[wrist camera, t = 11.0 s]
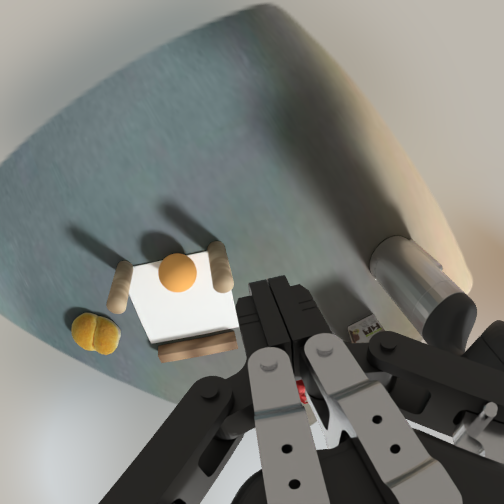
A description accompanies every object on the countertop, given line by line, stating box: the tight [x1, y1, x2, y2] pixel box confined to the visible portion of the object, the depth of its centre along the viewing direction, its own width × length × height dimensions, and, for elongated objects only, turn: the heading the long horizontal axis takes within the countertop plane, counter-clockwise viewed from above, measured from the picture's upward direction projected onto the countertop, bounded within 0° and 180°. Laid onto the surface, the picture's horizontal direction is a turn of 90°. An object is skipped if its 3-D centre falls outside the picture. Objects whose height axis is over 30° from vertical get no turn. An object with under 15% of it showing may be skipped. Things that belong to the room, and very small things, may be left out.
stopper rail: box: [158, 331, 238, 363], centre depth 55 cm, size 14×2×2 cm, turn 97°
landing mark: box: [129, 251, 239, 344], centre depth 50 cm, size 16×16×1 cm
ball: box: [158, 253, 197, 292], centre depth 45 cm, size 6×6×6 cm
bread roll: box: [71, 313, 121, 355], centre depth 49 cm, size 8×9×4 cm
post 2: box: [207, 241, 234, 293], centre depth 43 cm, size 3×3×9 cm
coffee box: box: [348, 314, 385, 343], centre depth 57 cm, size 9×6×16 cm
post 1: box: [107, 261, 133, 314], centre depth 42 cm, size 3×3×9 cm
